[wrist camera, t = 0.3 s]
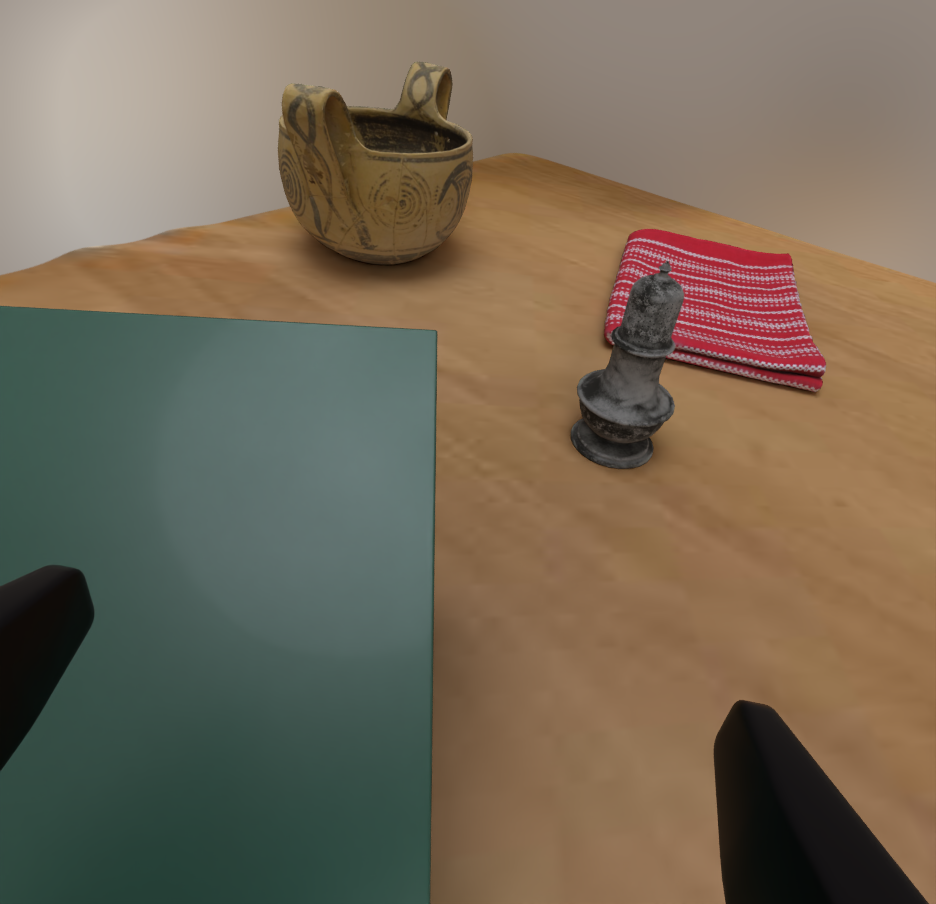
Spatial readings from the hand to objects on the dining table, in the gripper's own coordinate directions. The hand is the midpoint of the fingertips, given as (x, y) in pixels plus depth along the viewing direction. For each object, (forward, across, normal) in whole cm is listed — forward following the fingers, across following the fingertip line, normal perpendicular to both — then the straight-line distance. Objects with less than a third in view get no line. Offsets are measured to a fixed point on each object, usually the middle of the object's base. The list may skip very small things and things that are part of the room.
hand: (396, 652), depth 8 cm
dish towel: (+52, -16, +10) cm, 55 cm away
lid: (+5, +7, +5) cm, 9 cm away
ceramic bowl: (+53, +15, +10) cm, 56 cm away
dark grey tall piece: (+30, -7, +13) cm, 33 cm away
